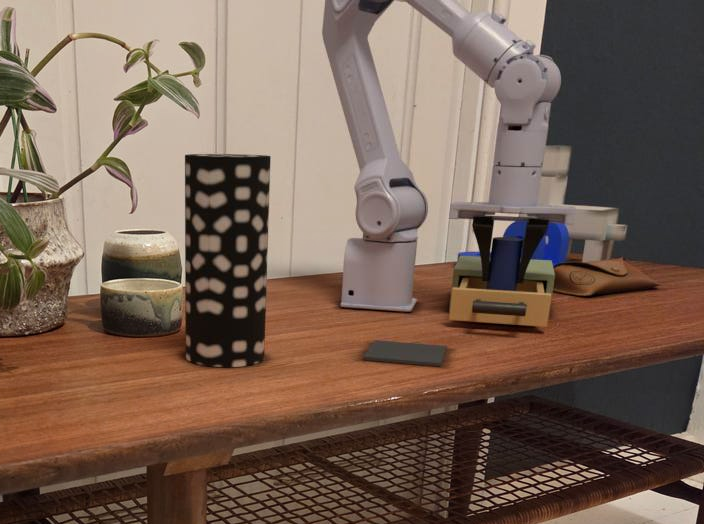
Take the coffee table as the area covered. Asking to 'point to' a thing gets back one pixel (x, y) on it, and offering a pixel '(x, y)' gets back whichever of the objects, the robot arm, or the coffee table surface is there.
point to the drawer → (500, 303)
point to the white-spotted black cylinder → (226, 258)
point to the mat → (406, 353)
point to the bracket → (549, 251)
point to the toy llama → (578, 209)
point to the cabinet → (535, 267)
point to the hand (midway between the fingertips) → (502, 281)
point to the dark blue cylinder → (504, 263)
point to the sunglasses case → (599, 278)
